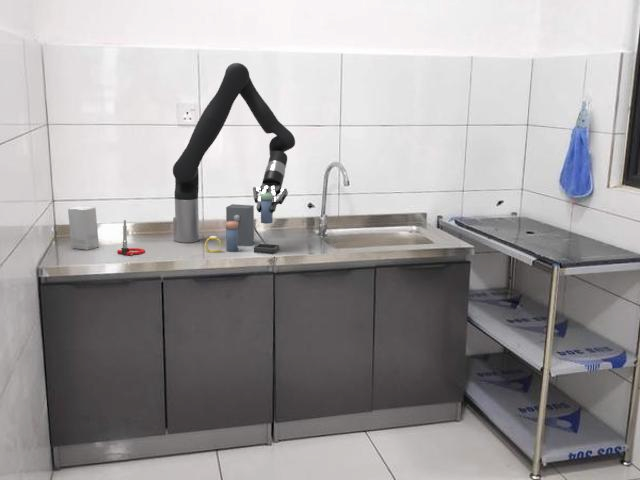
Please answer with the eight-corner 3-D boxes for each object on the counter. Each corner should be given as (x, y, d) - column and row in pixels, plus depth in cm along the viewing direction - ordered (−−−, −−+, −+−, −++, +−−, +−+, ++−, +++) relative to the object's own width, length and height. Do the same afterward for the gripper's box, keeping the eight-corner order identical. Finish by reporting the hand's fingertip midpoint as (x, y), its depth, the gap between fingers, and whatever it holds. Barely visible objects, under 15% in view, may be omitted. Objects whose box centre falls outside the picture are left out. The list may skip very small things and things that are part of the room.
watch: (221, 251, 251) (222, 236, 250) (220, 253, 249) (221, 238, 248) (205, 250, 251) (206, 235, 250) (204, 252, 248) (205, 236, 247)
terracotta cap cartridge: (223, 251, 251) (223, 223, 248) (228, 248, 255) (228, 220, 253) (235, 252, 250) (235, 223, 247) (240, 249, 254) (239, 221, 252)
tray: (253, 252, 250) (253, 247, 249) (259, 248, 256) (259, 243, 256) (274, 254, 248) (274, 248, 248) (279, 249, 255) (279, 244, 254)
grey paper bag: (99, 247, 254) (97, 207, 250) (86, 250, 248) (84, 209, 244) (82, 244, 257) (80, 205, 254) (69, 248, 251) (67, 207, 248)
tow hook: (133, 250, 252) (115, 253, 244) (133, 216, 250) (114, 219, 242) (149, 253, 248) (131, 256, 240) (149, 219, 246) (131, 221, 238)
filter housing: (225, 244, 262) (225, 207, 258) (232, 240, 269) (232, 204, 266) (247, 246, 260) (247, 208, 256) (254, 241, 267) (253, 205, 264)
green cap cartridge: (258, 223, 248) (258, 194, 246) (262, 220, 253) (262, 192, 250) (271, 223, 247) (270, 194, 245) (274, 221, 252) (274, 192, 249)
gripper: (254, 168, 254) (244, 204, 245) (290, 169, 251) (281, 206, 242) (258, 180, 260) (249, 216, 252) (293, 182, 257) (285, 218, 249)
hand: (265, 211), depth 247 cm, fingers closed on green cap cartridge, 4 cm apart
